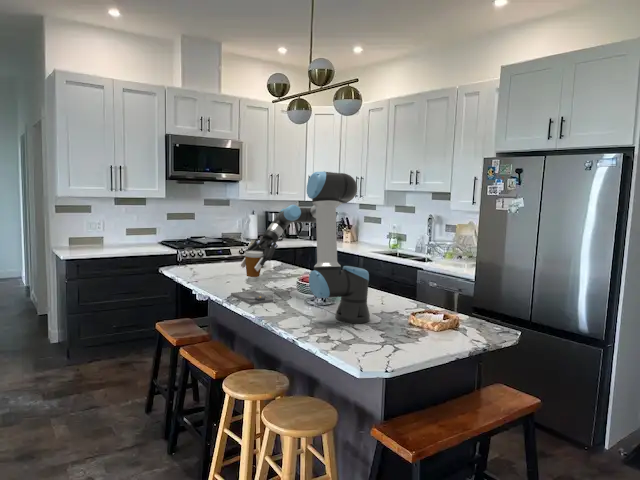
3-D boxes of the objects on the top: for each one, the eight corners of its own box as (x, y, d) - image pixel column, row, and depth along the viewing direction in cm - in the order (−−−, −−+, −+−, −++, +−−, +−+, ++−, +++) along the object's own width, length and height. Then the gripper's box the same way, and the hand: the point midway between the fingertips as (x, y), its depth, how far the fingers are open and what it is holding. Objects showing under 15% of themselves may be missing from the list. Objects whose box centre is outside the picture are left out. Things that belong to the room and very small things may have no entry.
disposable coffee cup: (259, 278, 233) (260, 254, 232) (240, 276, 235) (241, 252, 233) (265, 275, 242) (266, 251, 241) (247, 273, 244) (248, 249, 243)
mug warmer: (231, 295, 244) (231, 289, 243) (253, 293, 251) (253, 287, 251) (250, 304, 228) (250, 298, 228) (273, 301, 236) (274, 295, 235)
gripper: (292, 241, 242) (268, 276, 231) (260, 236, 255) (237, 269, 244) (285, 231, 237) (261, 266, 227) (253, 226, 250) (229, 259, 240)
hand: (248, 267), depth 235 cm, fingers closed on disposable coffee cup, 9 cm apart
